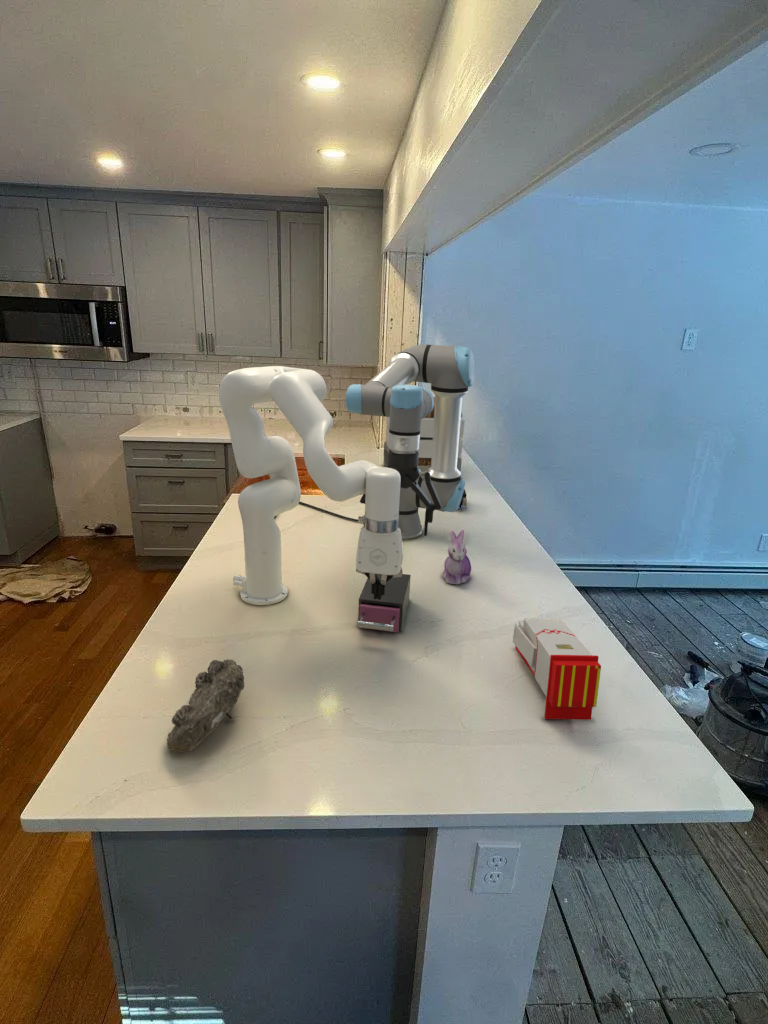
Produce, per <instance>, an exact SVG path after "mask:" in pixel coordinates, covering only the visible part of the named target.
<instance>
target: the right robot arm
mask: <svg viewBox="0 0 768 1024" xmlns="http://www.w3.org/2000/svg"><path fill="white" fill-rule="evenodd" d="M475 370H476V369H475V358H474V353H473V351H472V349H471V348H469V347H466V346H461V345H460V346H459V345H444V344H443V345H441V344H426V343H425V344H424V343H423V344H422V343H421V344H416V345H413V346H409V347H406V348H404V349H402V350H400V351H399V352H397V353H395V354H394V355H393V356H392V357H391V358H390V359H389V361H388V364H387V365H386V366H385V367H384V368H383V369H381V370H380V371H379V372H378V373H377V374H376V375H375V376H374V377H372V378H371V379H369V380H368V382H366V383H365V384H361V383H357V384H356V383H353V384H350V385H349V386H348V388H347V390H346V393H345V407H346V409H347V411H348V412H349V413H351V414H357V415H360V416H362V415H363V416H374V417H384V418H386V417H390V423H389V442H388V448H389V449H390V450H389V451H388V463H387V466H386V468H392V469H395V470H397V471H398V472H399V474H400V477H401V483H400V501H399V520H398V528H400V530H401V535H402V541H410V540H415V539H418V538H420V537H421V536H422V535H423V537H427V536H428V528H429V524H432V523H433V521H434V511H439V512H443V513H444V512H447V513H455V512H457V511H458V509H459V508H460V507H459V505H460V502H461V499H462V496H463V492H464V489H465V487H466V479H464V478H462V473H461V472H462V471H461V472H460V471H459V470H458V469H457V459H458V446H459V434H460V421H461V418H462V417H461V412H462V409H463V408H462V407H463V398H464V396H465V395H466V394H467V393H468V392H469V388H471V387H473V386H474V383H475V373H476V371H475ZM412 383H425V384H430V390H428V389H426V388H424V387H422V386H420V385H415V384H412ZM430 391H431V392H432V393H433V394H434V396H433V394H432V393H431V392H430ZM433 397H435V410H434V426H433V442H432V459H431V465H430V466H429V468H427V469H426V470H425V471H422V469H421V468H419V466H418V459H419V453H418V452H417V451H418V450H419V444H420V426H421V419H423V418H425V417H427V416H428V415H429V414H430V412H431V411H432V409H433V407H434V398H433ZM359 503H360V504H364V505H365V494H362V496H361V498H360V500H359ZM299 504H300V505H302V506H306V507H308V508H312V509H315V510H318V511H320V512H323V513H326V514H329V515H332V516H335V517H338V518H341V519H343V520H348V521H353V522H357V523H359V522H358V518H353V517H349V516H346V515H345V516H344V515H341V514H338V513H335V512H333V511H329V510H326V509H323V508H320V507H317V506H314V505H312V504H310V503H309V504H308V503H306V502H304V501H300V502H299ZM299 504H298V505H299ZM458 507H459V508H458ZM419 509H425V512H424V513H425V514H424V527H423V525H422V524H421V518H420V515H419Z"/></svg>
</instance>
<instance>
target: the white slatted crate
mask: <svg viewBox="0 0 768 1024" xmlns="http://www.w3.org/2000/svg"><path fill="white" fill-rule="evenodd" d="M433 398H434V407H433V409H432V411H431V412H430V414H429V415H428V416H427V417H425V418H423V419H421V426H420V444H419V450H418V451H417V452H418V453H419V459H418V467H431V459H432V442H433V426H434V410H435V396H433ZM385 423H386V428H385V438H384V442H383V466H384V467H387V463H388V451H389V450H390V449H389V448H388V442H389V423H390V417H385ZM464 429H465V419H464V418H463V411H461V421H460V434H459V446H458V459H457V469H458V470H459V471H460V472H462V461H463V460H462V453H463V442H464V441H463V440H462V439H463V438H464V431H465V430H464Z"/></svg>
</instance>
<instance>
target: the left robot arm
mask: <svg viewBox="0 0 768 1024" xmlns="http://www.w3.org/2000/svg"><path fill="white" fill-rule="evenodd" d="M327 389H328V388H327V384H326V381H325V380H324V378H323V377H322V375H321V374H320V373H319V372H317V371H315V370H314V369H310V368H309V369H308V368H300V367H299V368H298V367H290V366H281V365H269V366H253V367H244V368H238V369H235V370H232V371H230V372H228V373H227V374H226V375H225V376H224V377H223V378H222V379H221V382H220V384H219V387H218V398H219V400H218V401H219V405H220V408H221V410H222V413H223V416H224V418H225V422H226V423H227V428H228V431H229V437H230V442H231V446H232V452H233V456H234V461H235V464H236V468H237V471H238V473H239V474H240V476H242V477H244V478H246V479H255V478H261V477H264V476H267V475H268V476H269V478H268V479H264V480H261V481H258V482H255V483H252V484H249V485H248V486H246V487H244V488H243V489H242V490H241V491H240V493H239V495H238V497H237V504H238V505H237V506H238V509H239V510H238V511H239V513H240V518H241V522H242V530H243V546H244V547H243V548H244V549H243V550H244V571H245V575H244V576H243V575H239V574H235V575H233V577H232V580H233V584H232V585H233V586H235V587H241V590H240V593H239V594H240V598H241V600H242V601H243V602H245V603H247V604H250V605H253V606H268V605H273V604H277V603H280V602H282V601H283V600H284V599H286V598H287V596H288V593H289V588H288V587H287V586H286V584H284V583H283V571H282V570H283V569H282V568H283V567H282V566H283V565H282V563H283V562H282V534H281V533H282V532H281V529H280V527H279V526H278V524H277V523H276V521H275V520H276V519H274V517H275V516H276V515H277V516H279V515H281V514H283V513H287V512H289V511H291V510H293V509H294V508H297V506H298V505H299V502H301V499H302V498H301V497H302V489H301V484H300V478H299V472H298V468H297V462H296V461H297V460H296V457H295V452H294V449H293V447H292V446H291V444H290V442H289V441H288V440H287V439H285V437H283V436H280V435H273V434H272V435H268V436H267V435H266V431H265V426H264V421H263V419H262V417H261V416H260V414H259V413H258V411H257V410H256V409H255V408H254V407H253V405H255V404H264V403H270V402H274V403H275V405H276V406H277V407H278V409H279V410H280V411H281V413H282V414H283V415H284V417H285V419H286V420H287V421H288V422H289V424H290V425H291V426H292V428H293V429H294V431H295V432H296V433H297V435H298V436H299V437H300V439H301V440H302V455H303V460H304V464H305V469H306V471H307V473H308V475H309V476H310V478H311V479H312V480H313V482H314V483H315V485H316V486H317V487H318V489H319V490H320V491H321V492H322V494H323V495H324V496H325V497H327V499H329V500H330V501H331V500H332V501H334V502H338V503H340V502H345V501H348V500H351V499H353V498H356V497H358V496H361V495H362V496H363V494H365V504H364V514H363V515H362V516H360V515H358V517H357V519H358V522H357V523H361V524H362V527H361V528H360V531H359V534H358V539H357V549H356V560H355V572H356V573H358V574H362V575H364V576H365V577H366V578H368V579H369V580H370V582H371V583H372V592H371V593H372V594H374V599H378V600H381V597H382V595H385V584H386V582H387V581H389V580H390V579H391V578H393V577H394V578H396V577H401V576H402V574H404V573H403V572H404V571H403V568H402V565H403V540H402V535H401V530H400V528H398V520H399V501H400V483H401V477H400V474H399V472H398V471H397V470H395V469H392V468H387V466H384V467H383V466H379V465H377V464H375V463H373V462H371V461H369V460H364V459H359V460H354V461H351V462H347V463H344V464H340V465H338V464H337V463H336V462H335V461H334V459H333V458H332V456H331V455H330V453H329V451H328V449H327V447H326V442H325V441H326V440H325V439H326V436H327V435H328V434H329V433H330V432H331V430H332V428H333V426H334V418H333V416H332V415H331V414H330V413H329V411H328V410H327V409H326V407H325V406H324V404H323V403H322V402H323V401H324V400H325V399H326V396H327V393H328V391H327ZM277 516H276V517H277ZM377 574H382V577H381V578H380V581H379V578H378V577H377ZM377 597H378V598H377Z"/></svg>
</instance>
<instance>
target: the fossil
mask: <svg viewBox="0 0 768 1024" xmlns="http://www.w3.org/2000/svg"><path fill="white" fill-rule="evenodd" d="M243 670H244V669H243V667H242V665H240V664H237V662H236V661H235V660H234V659H232V658H231V659H227V658H226V659H224V660H223V661H222V660H217V659H212V660H211V661H210V663H209V665H208V666H207V671H201V672H199V673H198V674H197V675H196V676H195V680H194V684H195V685H194V687H195V689H194V690H193V693H192V694H191V697H190V698H189V700H188V704H184V705H182V706H181V707H180V709H177V710H176V711H175V713H174V715H173V716H172V718H171V723H172V724H173V727H172V730H171V731H170V732H168V734H167V738H166V741H167V742H166V745H167V749H168V750H169V751H173V752H174V753H176V754H178V753H182V752H188V751H189V752H192V751H193V750H195V748H196V747H197V746H199V744H200V743H201V742H203V741H204V740H205V739H206V738H207V737H208V736H209V735H210V734H211V733H212V732H214V730H215V729H217V727H218V726H219V724H220V722H221V721H222V720H223V719H224V718H225V716H226V717H227V719H229V720H233V717H232V715H230V714H229V710H230V709H231V708H234V706H235V704H236V703H237V702H238V699H239V697H240V695H241V693H242V691H243V690H245V689H244V688H245V675H244V671H243Z"/></svg>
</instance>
